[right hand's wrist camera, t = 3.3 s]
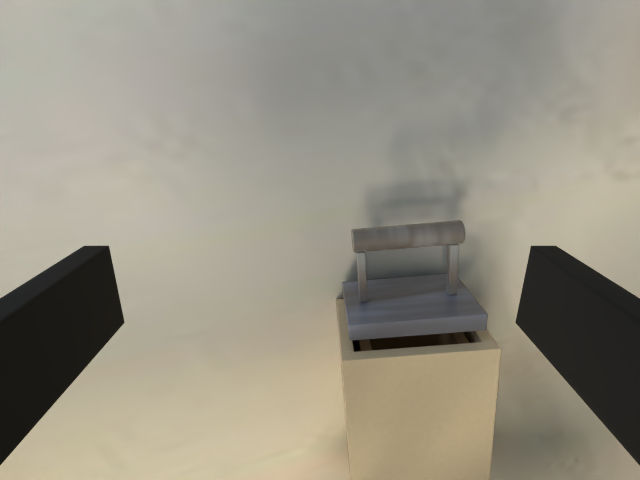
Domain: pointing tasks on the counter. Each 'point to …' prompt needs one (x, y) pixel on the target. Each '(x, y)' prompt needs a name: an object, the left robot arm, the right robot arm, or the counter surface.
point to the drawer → (410, 293)
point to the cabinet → (420, 408)
